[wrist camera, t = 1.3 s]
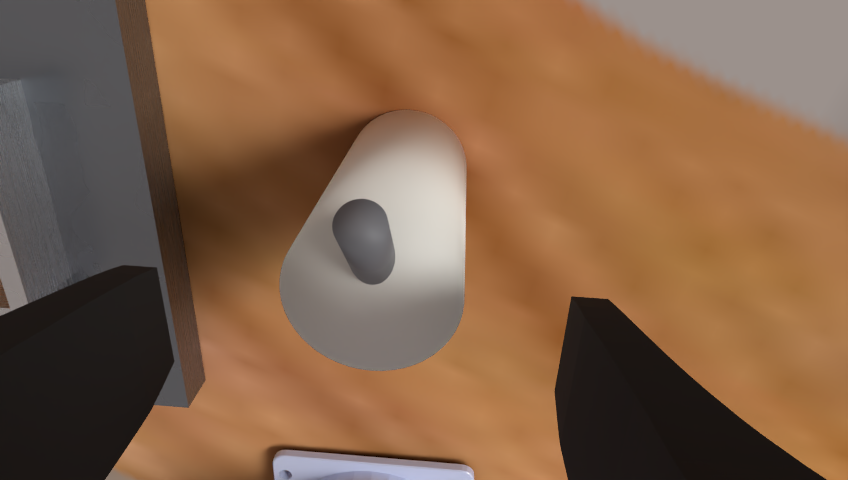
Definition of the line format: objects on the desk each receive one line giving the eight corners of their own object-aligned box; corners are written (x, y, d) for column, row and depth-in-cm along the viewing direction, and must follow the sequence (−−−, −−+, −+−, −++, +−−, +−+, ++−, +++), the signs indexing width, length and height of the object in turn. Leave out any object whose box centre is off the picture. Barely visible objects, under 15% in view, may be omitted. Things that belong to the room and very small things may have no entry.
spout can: (462, 224, 19) (456, 430, 11) (350, 217, 19) (263, 414, 11) (472, 92, 17) (474, 222, 9) (348, 85, 17) (240, 206, 9)
